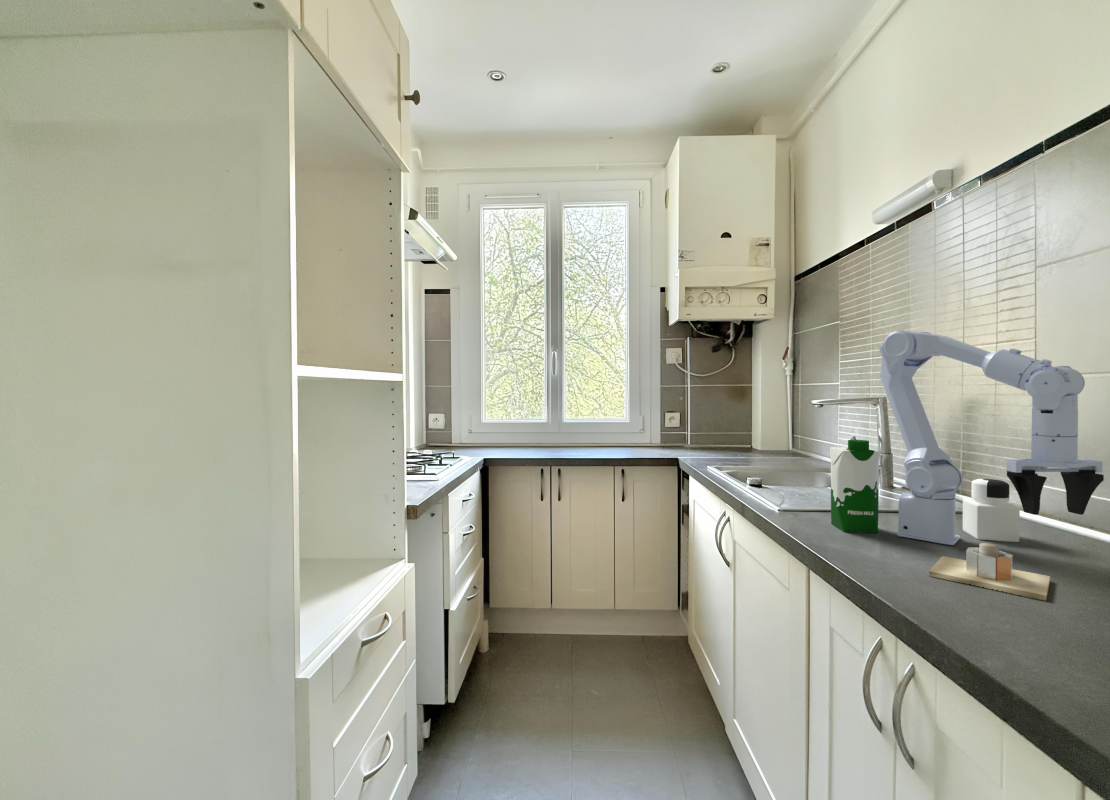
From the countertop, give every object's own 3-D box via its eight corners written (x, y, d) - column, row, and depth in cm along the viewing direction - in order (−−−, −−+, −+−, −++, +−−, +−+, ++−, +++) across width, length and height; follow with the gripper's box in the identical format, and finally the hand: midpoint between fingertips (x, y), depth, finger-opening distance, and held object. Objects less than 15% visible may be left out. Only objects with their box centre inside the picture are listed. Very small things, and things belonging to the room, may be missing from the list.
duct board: (929, 575, 84) (929, 543, 84) (942, 560, 92) (942, 530, 91) (1046, 601, 74) (1046, 563, 74) (1050, 581, 81) (1050, 547, 81)
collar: (958, 567, 85) (958, 547, 85) (991, 567, 85) (992, 547, 85) (985, 580, 80) (986, 558, 80) (1021, 580, 80) (1022, 558, 80)
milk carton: (841, 533, 109) (841, 441, 109) (825, 522, 118) (825, 437, 118) (884, 534, 108) (885, 441, 108) (865, 523, 117) (865, 437, 117)
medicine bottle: (1001, 533, 108) (1002, 477, 108) (1020, 542, 102) (1020, 483, 101) (961, 530, 111) (962, 476, 110) (977, 539, 104) (977, 482, 104)
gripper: (1032, 437, 84) (1031, 519, 84) (1122, 437, 83) (1121, 519, 83) (996, 434, 91) (995, 509, 91) (1079, 433, 90) (1078, 509, 90)
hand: (1053, 513), depth 88 cm, fingers open, 7 cm apart
